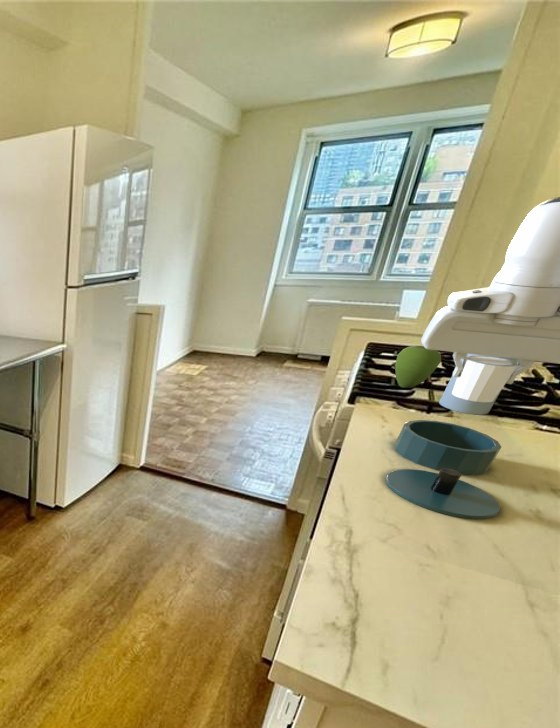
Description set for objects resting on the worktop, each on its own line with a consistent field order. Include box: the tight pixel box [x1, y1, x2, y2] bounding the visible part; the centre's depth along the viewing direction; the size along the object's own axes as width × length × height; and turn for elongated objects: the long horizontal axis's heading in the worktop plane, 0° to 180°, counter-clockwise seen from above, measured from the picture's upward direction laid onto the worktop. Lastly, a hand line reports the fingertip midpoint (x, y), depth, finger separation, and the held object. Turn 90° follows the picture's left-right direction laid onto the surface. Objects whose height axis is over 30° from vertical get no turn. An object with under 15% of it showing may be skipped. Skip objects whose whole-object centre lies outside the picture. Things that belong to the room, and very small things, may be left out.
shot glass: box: [452, 355, 519, 402], centre depth 88 cm, size 7×7×7 cm
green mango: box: [394, 345, 442, 389], centre depth 126 cm, size 9×8×12 cm
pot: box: [393, 419, 502, 476], centre depth 93 cm, size 14×14×5 cm
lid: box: [385, 468, 501, 520], centre depth 82 cm, size 15×15×5 cm
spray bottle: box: [438, 354, 518, 416], centre depth 111 cm, size 9×9×25 cm
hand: (480, 379), depth 88 cm, fingers closed on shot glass, 5 cm apart
